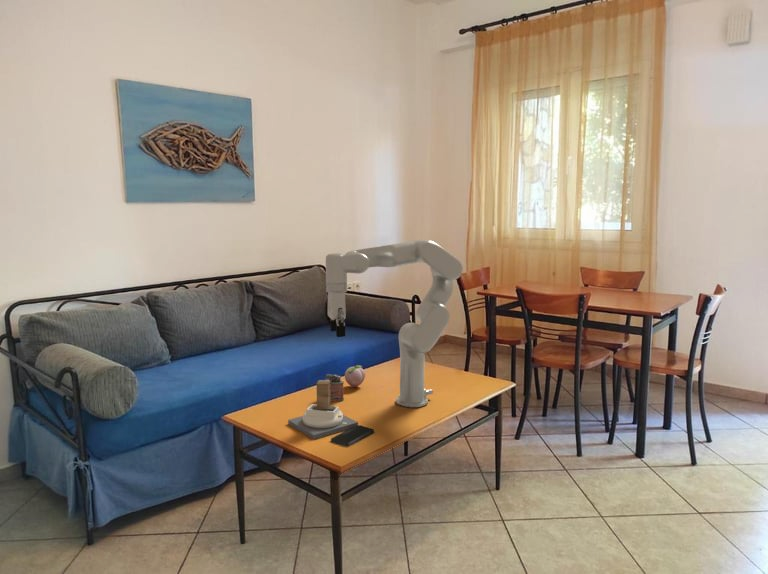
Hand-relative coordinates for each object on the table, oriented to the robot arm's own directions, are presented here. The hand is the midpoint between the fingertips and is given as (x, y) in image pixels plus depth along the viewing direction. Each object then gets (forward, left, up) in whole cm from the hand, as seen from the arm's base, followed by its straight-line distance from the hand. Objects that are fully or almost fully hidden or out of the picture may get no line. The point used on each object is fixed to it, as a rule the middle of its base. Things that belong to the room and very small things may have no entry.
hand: (337, 333), depth 201 cm
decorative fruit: (-21, -20, -30) cm, 42 cm away
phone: (+9, +22, -30) cm, 39 cm away
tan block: (+11, +8, -26) cm, 30 cm away
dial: (+12, +7, -28) cm, 31 cm away
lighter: (-6, -13, -30) cm, 33 cm away
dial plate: (+12, +7, -30) cm, 33 cm away
